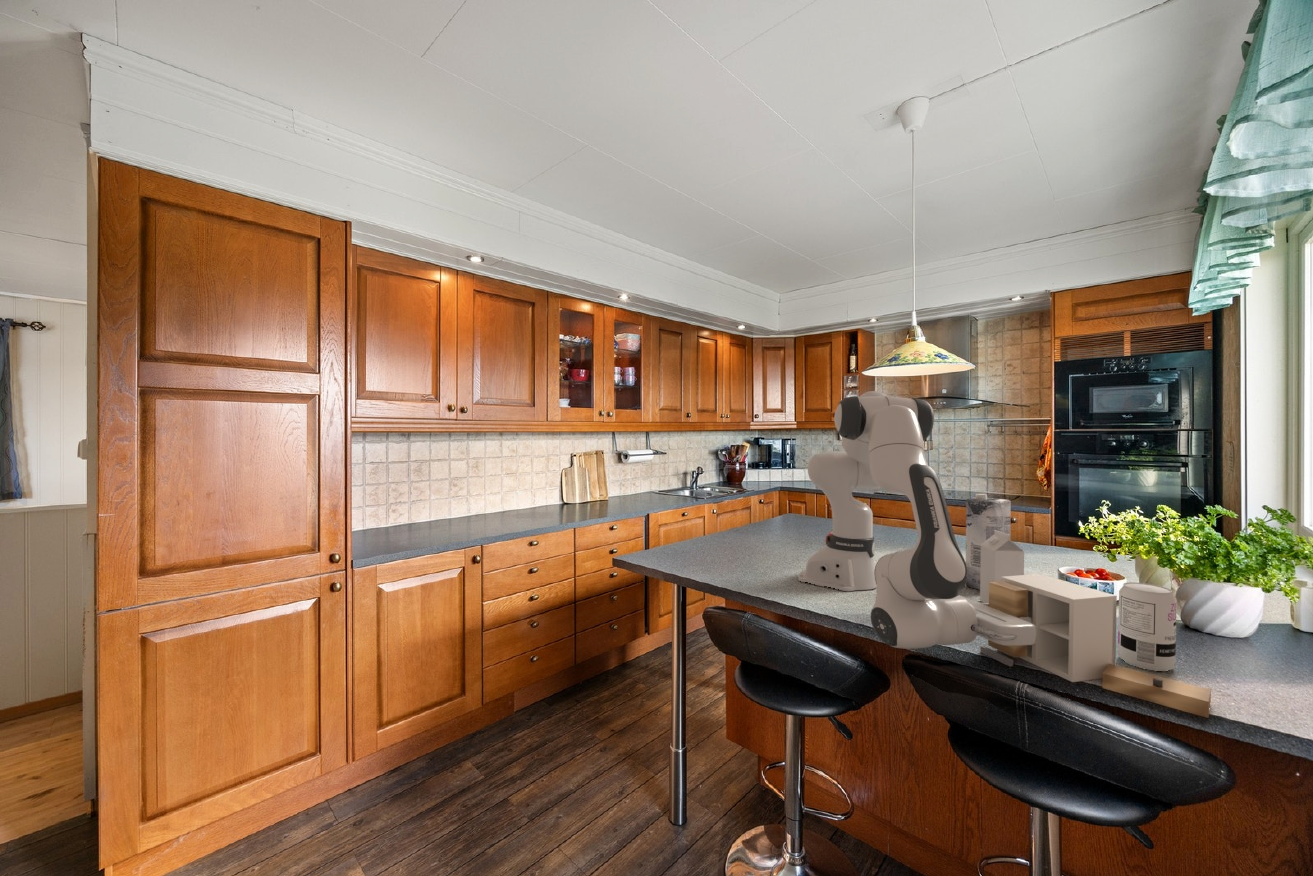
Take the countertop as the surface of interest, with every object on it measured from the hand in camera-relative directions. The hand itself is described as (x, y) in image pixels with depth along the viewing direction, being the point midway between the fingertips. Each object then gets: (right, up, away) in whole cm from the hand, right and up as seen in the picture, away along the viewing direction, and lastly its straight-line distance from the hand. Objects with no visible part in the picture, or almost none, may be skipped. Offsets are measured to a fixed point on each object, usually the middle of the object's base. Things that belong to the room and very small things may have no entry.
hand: (1011, 614), depth 106 cm
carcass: (+5, -9, -2) cm, 10 cm away
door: (+14, -9, -15) cm, 23 cm away
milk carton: (+18, -8, +31) cm, 37 cm away
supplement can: (+24, -9, -3) cm, 26 cm away
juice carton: (+24, -8, +47) cm, 53 cm away
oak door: (-1, -7, 0) cm, 7 cm away
